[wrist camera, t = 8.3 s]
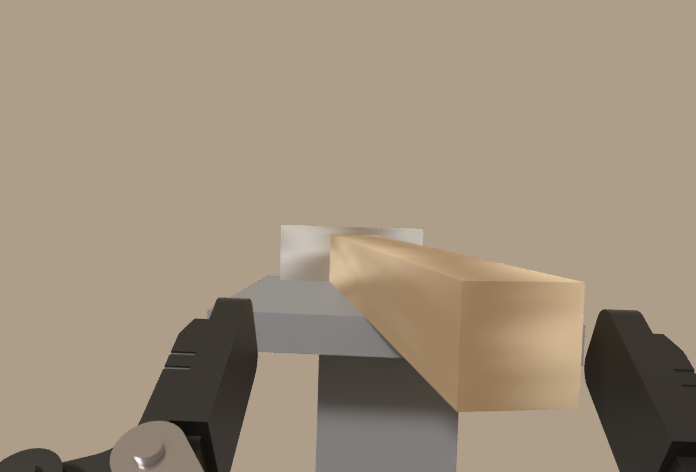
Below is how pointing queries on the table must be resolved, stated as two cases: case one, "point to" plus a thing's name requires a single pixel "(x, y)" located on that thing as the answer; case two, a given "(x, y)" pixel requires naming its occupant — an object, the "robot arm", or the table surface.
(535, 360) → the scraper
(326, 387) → the stand
